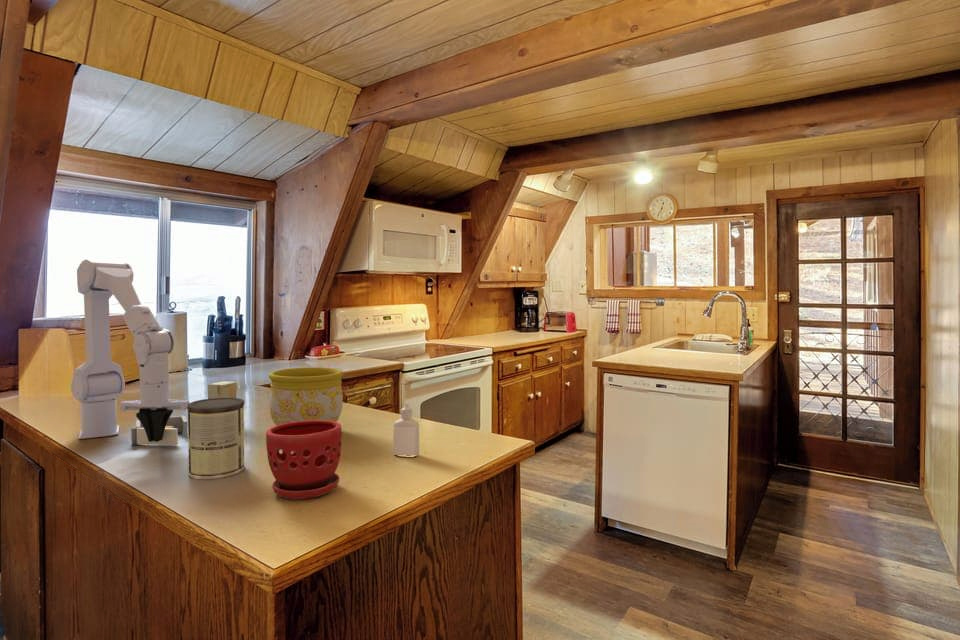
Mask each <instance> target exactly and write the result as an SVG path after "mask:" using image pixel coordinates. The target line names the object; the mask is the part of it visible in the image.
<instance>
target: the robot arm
mask: <svg viewBox="0 0 960 640" xmlns="http://www.w3.org/2000/svg"><path fill="white" fill-rule="evenodd" d="M76 280H77V281H76V282H77V291H78V293H80V294H81V295H83V308H84V310H83V311H84V333H85V356H86V357H85V358H86V359H85V361H84V362H83V363H82V364H80V365H78V366H77V367H76V368H75V369H74V370H73V373H72V380H71V383H70V385H71V386H70V389H71V395H72V396H73V397H74V399H76V400H77V401H78V402H80V414H81V415H80V416H81V417H80V418H81V421H80V423H81V430H80V432H79V435H78V440H83V439H84V440H85V439H91V438H92V439H93V438H100V437H109V436H118V435H119V433H120V425H119V424H117V423H118V417H117V414H118V413H117V399H118V398H120V395H121V394H122V393H123V392H124V390H125V386H126V382H125V377H124V375H123V370H122V369H123V368H122V366H121V365H120V364H118V363H116V362H114V361H113V360H112V352H111V351H112V350H111V347H112V346H111V345H112V344H111V326H110V325H111V322H110V321H111V319H110V303H109V302H110V299H111V297H112V296H114V298H115V299H116V300H117V302H118V303H119V305H120V306H121V307H122V309H123V310H124V311H125V312H124V313H123V317H122V319H123V320H124V322H125V324H126V327H128V330H129V332H130V333H131V334H132V335H131V336H132V337H133V342H132V348H133V351H134V354H135V357H136V358H135V359H136V360H135V361H136V362H137V364H138V366H139V400H137V399H136V400H124V401H121V402H119V411H123V412H125V411H138V412H136V414H135V416H136V418H137V420H139V421H140V422H141V424H142V425H143V427H144V429H145V432H146V435H147V438H148V441H149V442H152V441H155V442H158V441H160V440H162V438H163V434H164V430H165V427H166V424H167V422H168V420H169V418H170V417H172V414H173V413H174V411H175V410H181V411H187V410H188V409H187V405H188V404H189V403H190V400H185V399H184V400H183V399H170V377H169V376H170V375H169V371H170V369H169V367H170V366H169V365H170V364H169V362H170V361H169V355H170V354H171V353H172V352H173V350H174V347H175V340H174V336H173V334H172V331H170V330H168V329H166V328H165V327H164V326H160V324H159V322H158V321H157V318H156V317H155V315H154V314H153V311H151V309H150V307H148V306H145V305H142V303H141V301H140V298H139V296H138V294H137V291H136V290H135V289H136V288H135V287H134V285H133V281H134V271H133V268H132V266H131V265H130V264H129V262H127V261H109V260H95V259H94V260H93V259H92V260H91V259H88V258H87V259H84V260H82V261H81V263H80V264H79V266H78V268H76Z"/></svg>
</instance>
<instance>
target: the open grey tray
mask: <svg viewBox="0 0 960 640" xmlns="http://www.w3.org/2000/svg"><path fill="white" fill-rule="evenodd" d="M166 426H173V427H174V428H178V433H181V435H182V437H183V439H185V438H188V419H187V418H186V416H185V415H176V416H175V415H174V416H170V418H169V420H168V422H167V424H166ZM135 427H137V428H144V427H143V425H142V424H141V422H140V421H139V419H137V420H135Z"/></svg>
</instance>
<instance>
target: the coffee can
mask: <svg viewBox="0 0 960 640" xmlns="http://www.w3.org/2000/svg"><path fill="white" fill-rule="evenodd" d="M244 405H245V400H244V399H243V398H239V397H236V398H211V399H208V398H203V399H198V400H194V401H192V402H189V404H188V405H187V409H186V410H187V432H188V437H187V439H188V440H187V441H188V443H187V444H188V476H189V478H192V479H194V480H195V479H196V480H216V479H222V478H223V479H224V478H228V477H231V476H234V475H236V474H239V473H241V472H243V471H244V470H245V466H246V465H245V424H244V423H245V422H244V420H245V419H244V417H245V413H244V412H245V407H244Z"/></svg>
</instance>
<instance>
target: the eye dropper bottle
mask: <svg viewBox="0 0 960 640" xmlns="http://www.w3.org/2000/svg"><path fill="white" fill-rule="evenodd" d="M400 413H401V414H400V418H398V419H397V420H396V421H394V424H393V455H394V454H396V455H406V456H411V455H417V454H420V423H419V422H418V420H416V419H414V418H413V409H412V408H411V407H410V406H409V402H404V406H403V408H401V409H400Z"/></svg>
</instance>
